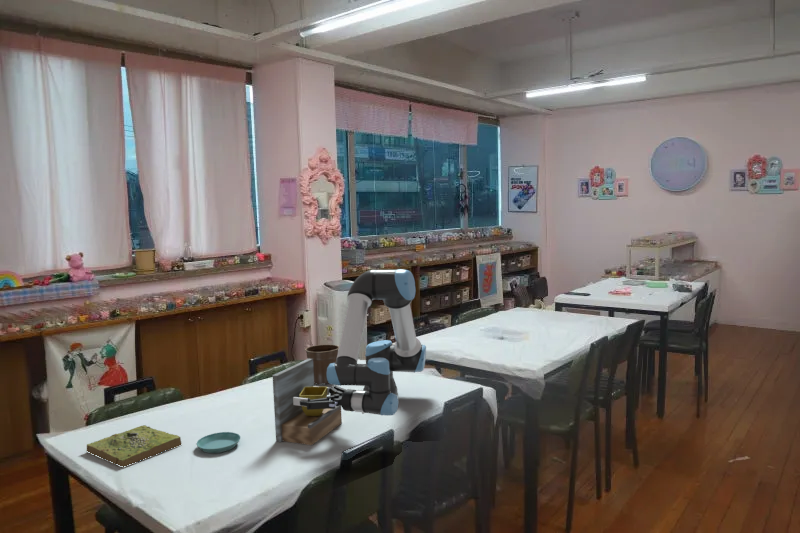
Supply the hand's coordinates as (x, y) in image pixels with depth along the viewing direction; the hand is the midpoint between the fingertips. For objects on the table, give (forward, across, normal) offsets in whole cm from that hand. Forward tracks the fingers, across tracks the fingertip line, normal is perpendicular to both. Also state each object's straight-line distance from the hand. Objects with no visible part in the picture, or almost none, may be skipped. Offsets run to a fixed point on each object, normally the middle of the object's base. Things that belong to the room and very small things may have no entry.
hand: (303, 395), depth 214 cm
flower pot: (-3, +2, -8) cm, 8 cm away
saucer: (+22, -22, -14) cm, 34 cm away
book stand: (-2, 0, -14) cm, 14 cm away
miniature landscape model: (+49, -34, -14) cm, 61 cm away
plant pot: (+26, +58, -14) cm, 65 cm away
